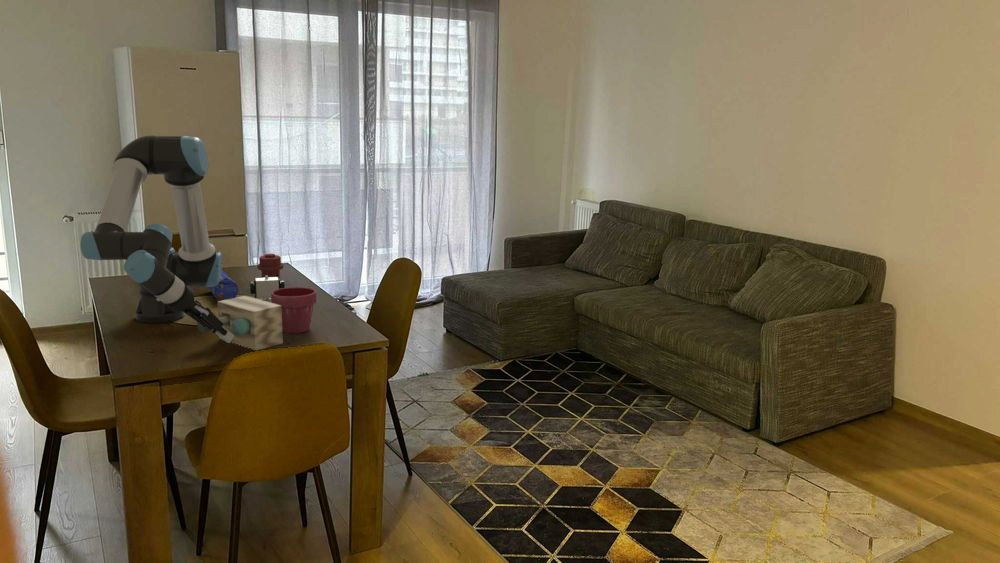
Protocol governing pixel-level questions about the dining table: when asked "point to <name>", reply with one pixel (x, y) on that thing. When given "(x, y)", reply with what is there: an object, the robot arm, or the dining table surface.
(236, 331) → the knob teal
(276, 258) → the mechanical component
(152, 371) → the dining table surface
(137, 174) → the robot arm
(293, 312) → the plant pot
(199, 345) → the dining table surface
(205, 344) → the dining table surface
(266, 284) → the pneumatic valve
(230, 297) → the pencil case
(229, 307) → the block
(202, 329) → the knob charcoal
